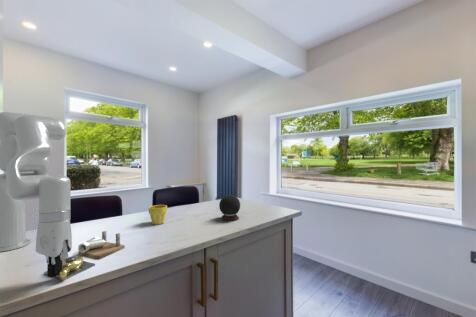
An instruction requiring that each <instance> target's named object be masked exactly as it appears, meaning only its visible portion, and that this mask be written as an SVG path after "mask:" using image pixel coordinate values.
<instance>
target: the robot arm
mask: <svg viewBox="0 0 476 317" xmlns="http://www.w3.org/2000/svg"><path fill="white" fill-rule="evenodd" d="M66 134H67V128H66V125H65V123H64V122H63V121H62V120H61V119H59V118H54V117H49V116H44V115H34V114H26V113H18V112H9V111H4V112H3V111H2V112H0V171H2V172H4V173H0V253H1V252H8V251H12V250H18V249H20V248H24V247H25V246H26V247H27V246H28V245H29V244H31V239H30V238H27V237H26V236H27V229H26V228H27V224H26V223H27V220H26V219H27V218H26V217H27V215H26V213H27V212H26V210H27V208H26V202H25V201H27V200H36V199H38V224H37V230H36V238H35V252H36V253H37V254H39V255H43V256H45V261H46V264H47V270H46V271H47V275H46V277H47V278H51V279H53V278H55V276H57V275H59V271H61V270H62V261H63V260H64V259H66V258H69V253H70V252H72V251H71V250H72V248H73V246H72V245H73V235H72V225H71V179H70V178H69V177H68V176H64V175H63V174H57V173H55V174H54V173H53V174H51V173H50V174H49V169H50V156H51V155H52V153H53V151H54V149H53V146H52V143H51V140H52V141H62V140H63V139H64V138H65V137H66Z"/></svg>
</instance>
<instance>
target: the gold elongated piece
mask: <svg viewBox="0 0 476 317" xmlns="http://www.w3.org/2000/svg"><path fill="white" fill-rule="evenodd" d="M83 261H84V256H82V255H77V256H68V258H66V259H64V260H63V261H62V270H61V271H59V279H58V280H60V281H65V280H67V279H68V278H67V274H68V273H69V272H70V271H74V270H77V269H79V268H80V267H82V266H83ZM66 278H67V279H66ZM64 279H65V280H64Z"/></svg>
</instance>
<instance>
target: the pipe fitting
mask: <svg viewBox="0 0 476 317" xmlns="http://www.w3.org/2000/svg"><path fill="white" fill-rule="evenodd" d="M107 242H108V241H107V240H106V241H105V240H103V239H102V238H100V237H99V236H97V235H96V236H94V237H92V238H90V239H88V240H86V241H84V242H82V243H80V244H78V249H77V250H78V251H80V252H81V253H84V252H86V251H88V250H91V249H96V248H101V247H103V246H104V245H105V244H106V243H107Z"/></svg>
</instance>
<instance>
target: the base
mask: <svg viewBox="0 0 476 317" xmlns="http://www.w3.org/2000/svg"><path fill="white" fill-rule="evenodd" d="M95 266H96V263H93V262H90V261H84V260H83V266H82V267H80V268H79V269H77V270H74V271H70V272H69V273H68V274H67V278H66V279H64V280H63V281H65V280H67V279H70V278H71V277H73V276H77V275H78V274H80V273H82V272H84V271H86V270H88V269H90V268H92V267H95ZM43 274H44V275H45V276H47V270H45V271H44V272H43ZM54 278H56V279H58V280H59V275H57V276H55V277H54Z"/></svg>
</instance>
